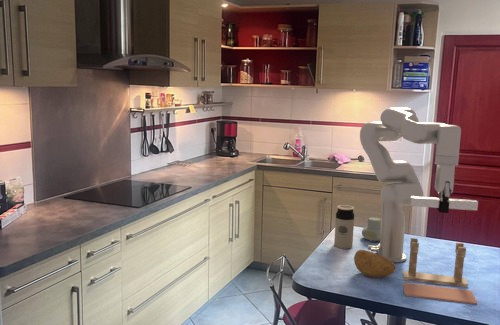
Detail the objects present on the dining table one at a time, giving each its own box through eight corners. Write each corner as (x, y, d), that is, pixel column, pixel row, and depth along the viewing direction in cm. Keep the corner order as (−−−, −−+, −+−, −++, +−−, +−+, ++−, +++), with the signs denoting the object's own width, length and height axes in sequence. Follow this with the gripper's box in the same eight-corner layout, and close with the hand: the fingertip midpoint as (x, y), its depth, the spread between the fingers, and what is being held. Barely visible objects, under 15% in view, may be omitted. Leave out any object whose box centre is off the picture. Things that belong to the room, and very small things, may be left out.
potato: (388, 285, 172) (390, 261, 171) (349, 274, 182) (350, 251, 180) (397, 278, 179) (399, 254, 178) (358, 267, 188) (360, 245, 187)
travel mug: (338, 242, 219) (341, 203, 216) (355, 245, 214) (357, 206, 211) (331, 246, 212) (333, 207, 209) (347, 250, 208) (350, 210, 205)
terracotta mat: (404, 295, 165) (404, 293, 164) (403, 284, 174) (403, 282, 174) (477, 304, 159) (477, 302, 159) (471, 292, 169) (471, 290, 168)
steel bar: (411, 205, 171) (411, 197, 171) (410, 204, 174) (410, 196, 174) (477, 210, 166) (478, 202, 166) (475, 208, 169) (476, 200, 169)
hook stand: (403, 279, 178) (406, 242, 175) (402, 273, 184) (405, 237, 181) (467, 287, 173) (471, 248, 170) (464, 280, 178) (468, 243, 176)
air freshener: (388, 240, 223) (389, 219, 222) (380, 244, 217) (382, 223, 215) (366, 235, 230) (367, 214, 228) (358, 239, 224) (359, 218, 222)
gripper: (432, 156, 177) (428, 205, 179) (438, 163, 161) (434, 216, 164) (453, 157, 175) (449, 206, 178) (462, 164, 159) (458, 217, 162)
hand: (442, 210), depth 171 cm, fingers closed on steel bar, 3 cm apart
